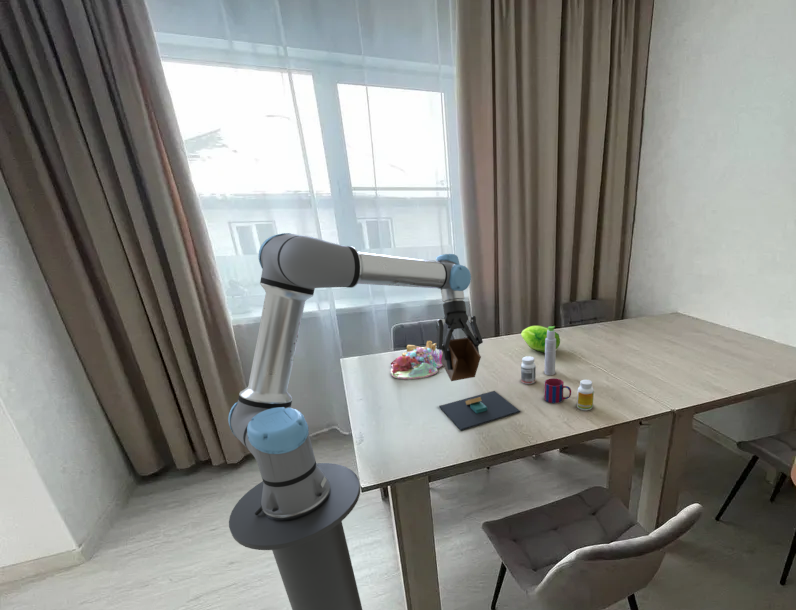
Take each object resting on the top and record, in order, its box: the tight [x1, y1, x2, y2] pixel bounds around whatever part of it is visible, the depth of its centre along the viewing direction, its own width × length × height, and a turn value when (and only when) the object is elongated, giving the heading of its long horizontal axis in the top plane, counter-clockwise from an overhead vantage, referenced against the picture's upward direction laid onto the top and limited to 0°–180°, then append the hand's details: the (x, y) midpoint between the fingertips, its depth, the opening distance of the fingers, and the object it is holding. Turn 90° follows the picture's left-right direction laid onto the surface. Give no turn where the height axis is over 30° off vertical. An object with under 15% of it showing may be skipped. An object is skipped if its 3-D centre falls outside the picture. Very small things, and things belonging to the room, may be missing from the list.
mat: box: [438, 390, 521, 432], centre depth 137 cm, size 22×18×1 cm
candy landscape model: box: [390, 340, 444, 380], centre depth 171 cm, size 25×24×9 cm
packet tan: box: [465, 397, 482, 405], centre depth 138 cm, size 5×4×1 cm
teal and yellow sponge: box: [470, 401, 487, 413], centre depth 137 cm, size 5×4×1 cm
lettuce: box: [520, 325, 561, 353], centre depth 188 cm, size 13×23×12 cm, turn 41°
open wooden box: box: [441, 337, 482, 382], centre depth 137 cm, size 10×9×10 cm
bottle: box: [544, 325, 557, 376], centre depth 161 cm, size 4×4×20 cm
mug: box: [543, 377, 572, 404], centre depth 142 cm, size 7×10×7 cm
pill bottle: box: [520, 355, 537, 385], centre depth 156 cm, size 6×6×10 cm
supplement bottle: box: [576, 379, 595, 411], centre depth 137 cm, size 5×5×10 cm
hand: (463, 367), depth 136 cm, fingers closed on open wooden box, 9 cm apart
